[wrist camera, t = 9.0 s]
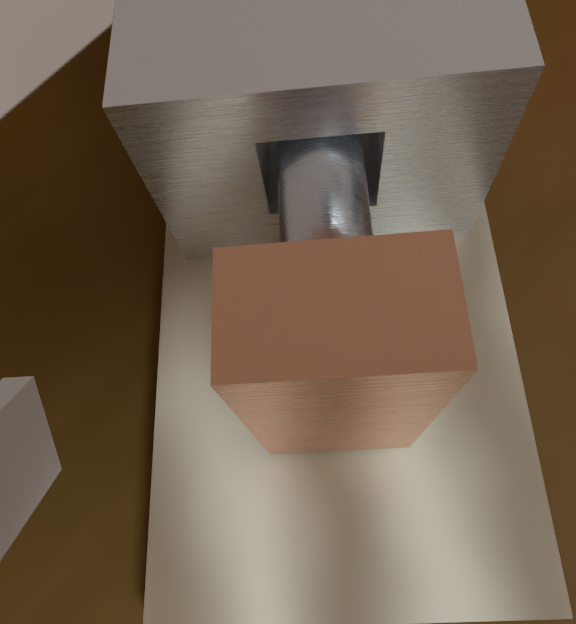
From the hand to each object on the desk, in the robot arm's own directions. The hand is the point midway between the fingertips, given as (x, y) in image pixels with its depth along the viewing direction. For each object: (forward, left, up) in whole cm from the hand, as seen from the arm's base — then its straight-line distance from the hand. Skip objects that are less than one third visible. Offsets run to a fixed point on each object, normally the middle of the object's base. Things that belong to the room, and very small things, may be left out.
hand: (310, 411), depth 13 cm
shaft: (-1, -9, -7) cm, 11 cm away
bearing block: (-1, -12, -7) cm, 15 cm away
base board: (-1, -6, -9) cm, 11 cm away
